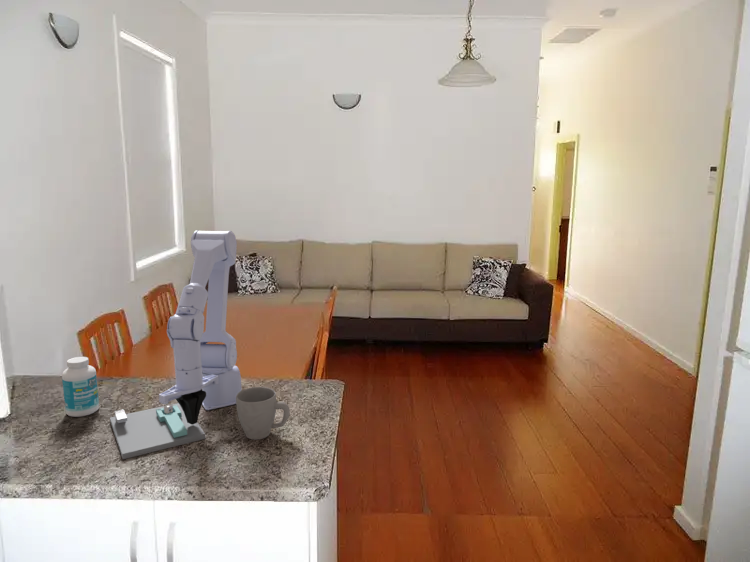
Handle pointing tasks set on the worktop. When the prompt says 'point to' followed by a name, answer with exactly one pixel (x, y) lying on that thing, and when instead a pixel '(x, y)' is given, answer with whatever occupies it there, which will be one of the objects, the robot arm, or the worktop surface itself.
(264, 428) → the mug
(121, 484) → the worktop surface
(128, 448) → the board
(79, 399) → the pill bottle
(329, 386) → the worktop surface
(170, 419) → the link
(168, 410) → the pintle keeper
